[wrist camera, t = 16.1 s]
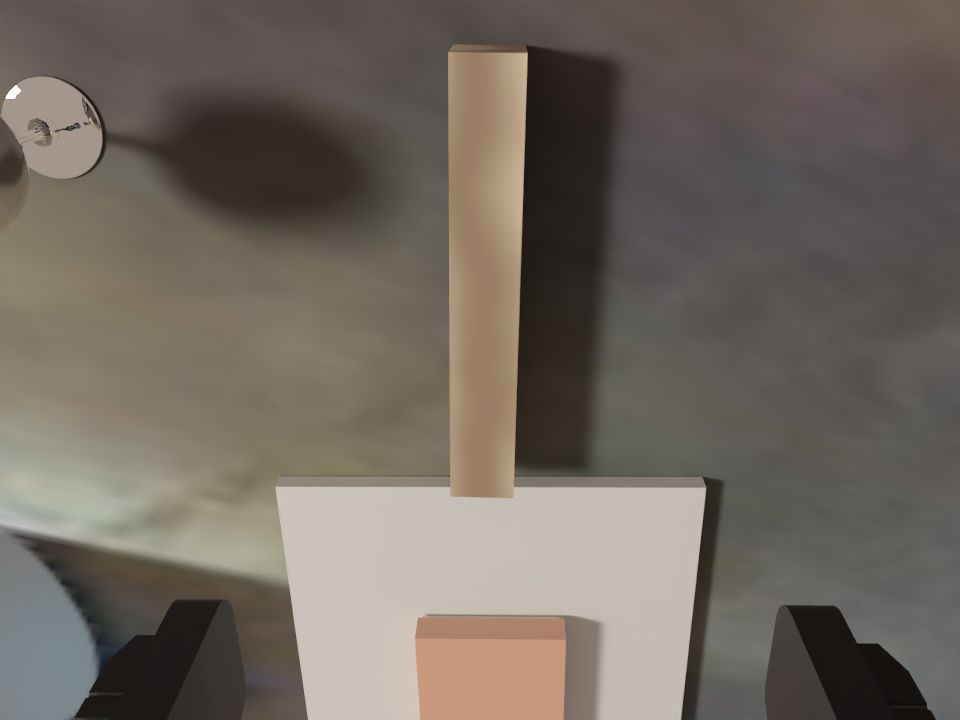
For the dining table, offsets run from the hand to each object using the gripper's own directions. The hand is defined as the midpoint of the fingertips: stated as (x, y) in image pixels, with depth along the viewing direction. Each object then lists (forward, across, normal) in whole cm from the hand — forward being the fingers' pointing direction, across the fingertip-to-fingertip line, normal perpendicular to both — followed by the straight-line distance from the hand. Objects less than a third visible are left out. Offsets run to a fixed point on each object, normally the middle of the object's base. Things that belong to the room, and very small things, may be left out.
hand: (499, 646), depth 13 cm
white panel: (+28, +1, +25) cm, 38 cm away
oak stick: (+28, +1, +4) cm, 29 cm away
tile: (+26, +1, +23) cm, 35 cm away
